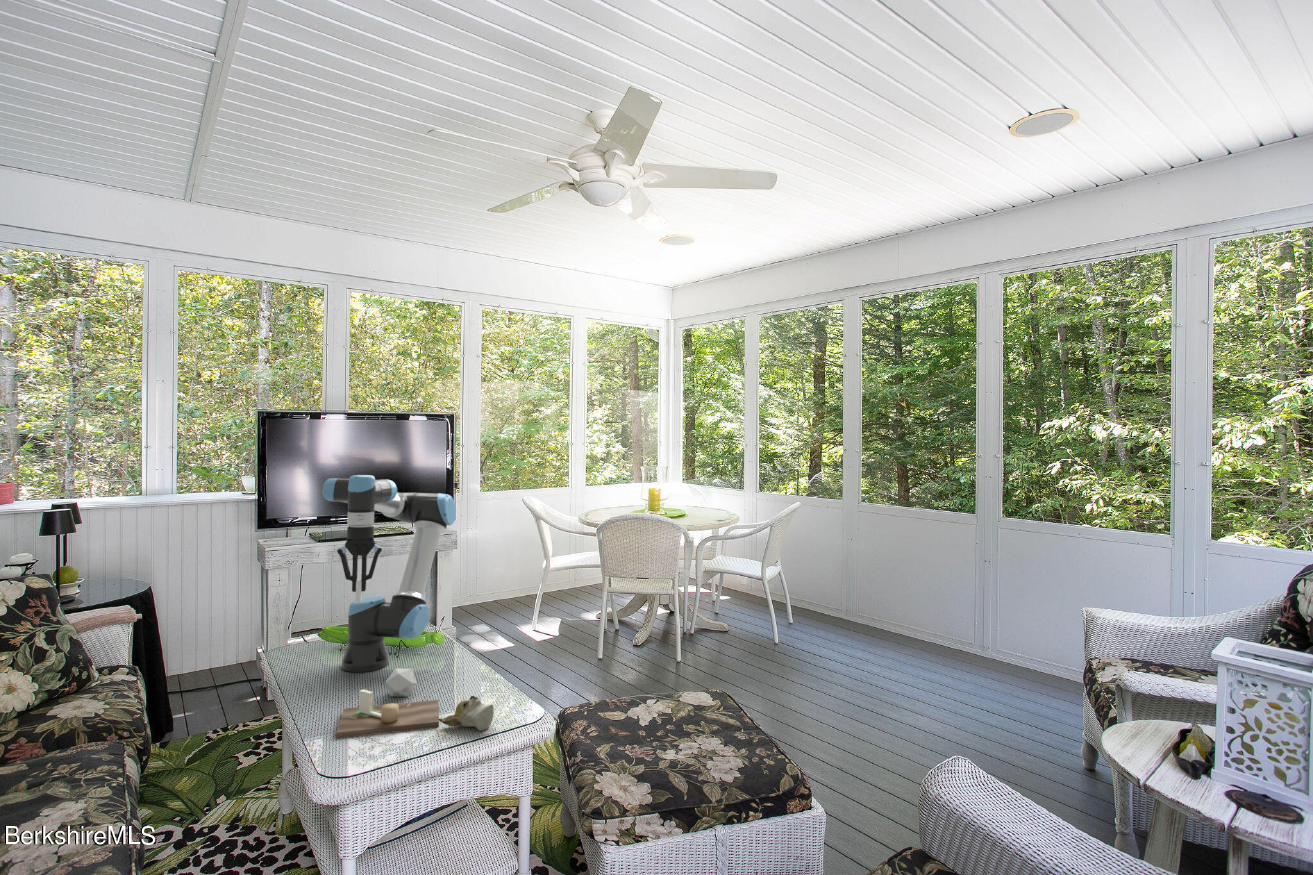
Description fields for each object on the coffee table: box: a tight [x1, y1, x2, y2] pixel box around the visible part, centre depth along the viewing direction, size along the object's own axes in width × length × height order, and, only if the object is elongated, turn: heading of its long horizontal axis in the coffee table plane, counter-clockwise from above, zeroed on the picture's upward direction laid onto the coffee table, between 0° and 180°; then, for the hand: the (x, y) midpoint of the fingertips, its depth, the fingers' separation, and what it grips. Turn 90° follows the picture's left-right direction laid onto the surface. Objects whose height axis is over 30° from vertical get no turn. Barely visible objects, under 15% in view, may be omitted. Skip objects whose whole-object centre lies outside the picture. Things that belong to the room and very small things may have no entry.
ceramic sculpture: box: [439, 695, 495, 732], centre depth 186 cm, size 11×9×15 cm
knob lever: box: [358, 688, 399, 723], centre depth 186 cm, size 14×4×6 cm, turn 64°
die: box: [384, 668, 418, 698], centre depth 207 cm, size 8×9×10 cm
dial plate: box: [335, 699, 440, 739], centre depth 188 cm, size 16×26×2 cm, turn 109°
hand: (358, 601), depth 203 cm, fingers closed
